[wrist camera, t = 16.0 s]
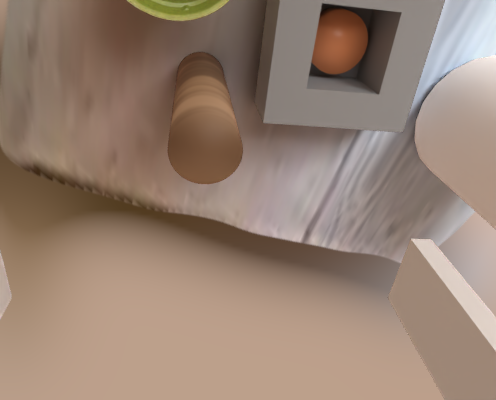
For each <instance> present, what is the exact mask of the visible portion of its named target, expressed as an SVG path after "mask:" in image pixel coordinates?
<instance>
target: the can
mask: <svg viewBox="0 0 496 400" xmlns="http://www.w3.org/2000/svg"><path fill="white" fill-rule="evenodd" d="M414 139H415V144H416V148H417V151H418V155H419V158H420V159H421V160H422V161H423V163H424V164H425V165H426V166H427V167H428V169H429V170H430V171H431V172H433V173H434V174H435V175H436V176H437V177H438V178H439V179H440V180H441V181H442V182H444V183H445V184H446V185H447V186H448V187H449V188H450V189H451V190H452V191H454V192H455V193H456V194H457V195H458V196H459V197H460V198H461V199H462V200H463V201H465V202H466V203H467V204H468V205H469V206H470V207H471V208H472V209H473V210H475V211H476V212H477V213H478V214H479V215H480V216H481V217H482V218H483V219H485V220H486V221H487V222H488V223H489V224H490V225H491V226H492V227H493V228H494V229H496V55H494V56H489V57H483V58H478V59H474V60H472V61H470V62H468V63H466V64H464V65H462V66H460V67H458V68H456V69H454V70H452V71H451V72H450V73H449V74H447V75H446V76H445V77H444V78H443V79H442V80H441V81H439V82H438V83H437V84H436V85H435V86H434V88H433V89H432V90H431V92H430V93H429V95H428V96H427V97H426V99H425V100H424V102H423V104H422V106H421V109H420V111H419V114H418V117H417V119H416V124H415V138H414Z"/></svg>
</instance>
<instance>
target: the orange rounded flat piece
mask: <svg viewBox="0 0 496 400" xmlns="http://www.w3.org/2000/svg"><path fill="white" fill-rule="evenodd" d="M367 43H368V32H367V28H366V25H365V23H364V22H363V20H362V19H361V18H360V17H359V16H358V15H357V14H355V13H354V12H351V11H348V10H345V9H343V8H336V7H334V8H328V9H325V10H323V11H321V12H320V17H319V23H318V28H317V34H316V39H315V45H314V50H313V56H312V61H311V63H312V64H314V65H315V66H316V67H317V68H318V69H319V70H321V71H323V72H325V73H328V74H340V73H344V72H346V71H348V70H350V69H352V68H353V67H354V66H355V65H357V63H358V62H359V61H360V60H361V58H362V57H363V55H364V53H365V51H366V48H367Z"/></svg>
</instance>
